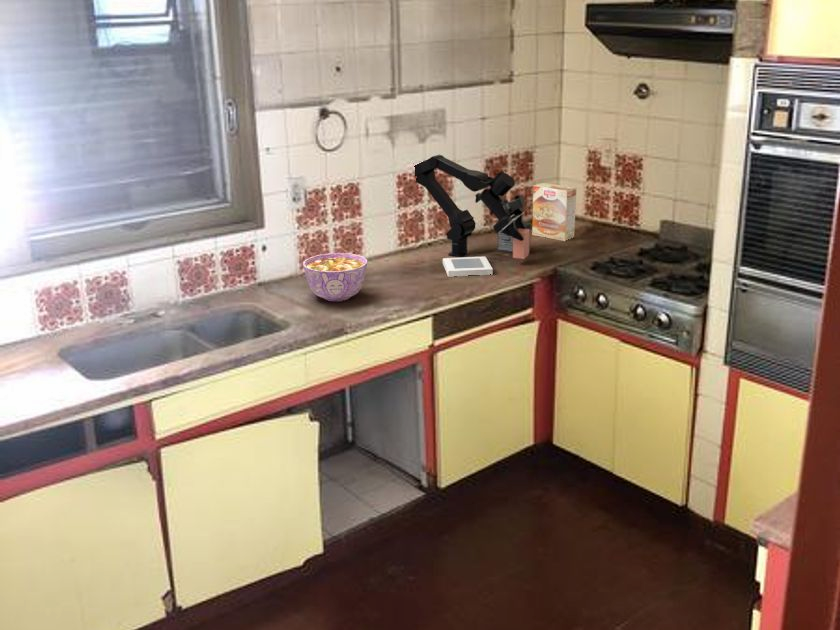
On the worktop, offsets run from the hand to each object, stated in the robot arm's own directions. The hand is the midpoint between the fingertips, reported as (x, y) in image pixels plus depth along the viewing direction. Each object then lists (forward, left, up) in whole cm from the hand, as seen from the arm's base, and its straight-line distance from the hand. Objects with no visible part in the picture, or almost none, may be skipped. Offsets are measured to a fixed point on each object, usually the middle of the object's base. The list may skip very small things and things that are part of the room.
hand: (525, 237), depth 317 cm
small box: (-14, -8, -10) cm, 19 cm away
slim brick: (0, -1, -7) cm, 7 cm away
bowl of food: (+55, -44, -10) cm, 71 cm away
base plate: (+13, -16, -9) cm, 23 cm away
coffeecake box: (-38, 0, -10) cm, 39 cm away
